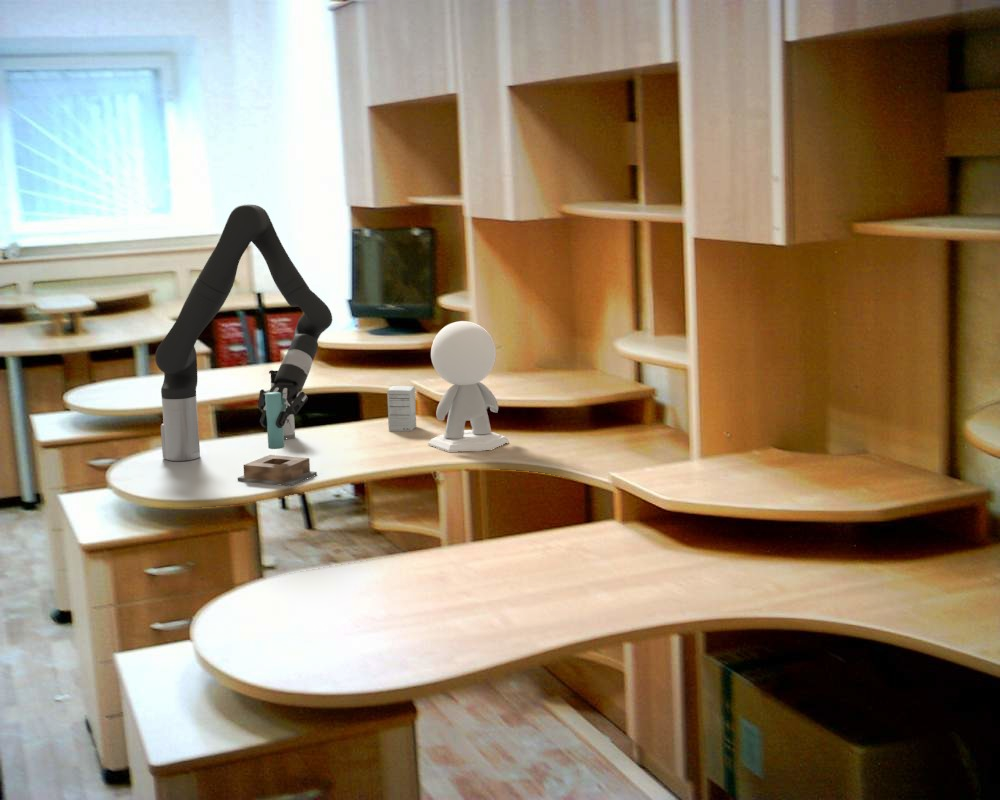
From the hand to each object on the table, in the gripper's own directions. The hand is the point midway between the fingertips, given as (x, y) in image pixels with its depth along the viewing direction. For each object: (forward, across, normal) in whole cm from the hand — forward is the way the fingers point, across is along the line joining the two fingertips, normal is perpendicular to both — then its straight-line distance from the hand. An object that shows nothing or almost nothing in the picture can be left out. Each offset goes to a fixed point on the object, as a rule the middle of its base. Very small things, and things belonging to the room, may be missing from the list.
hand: (270, 425), depth 317 cm
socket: (+9, 0, +11) cm, 14 cm away
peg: (+3, 0, +6) cm, 6 cm away
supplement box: (-37, +2, +58) cm, 68 cm away
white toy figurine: (-28, +30, +48) cm, 63 cm away
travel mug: (-22, -26, +42) cm, 54 cm away
